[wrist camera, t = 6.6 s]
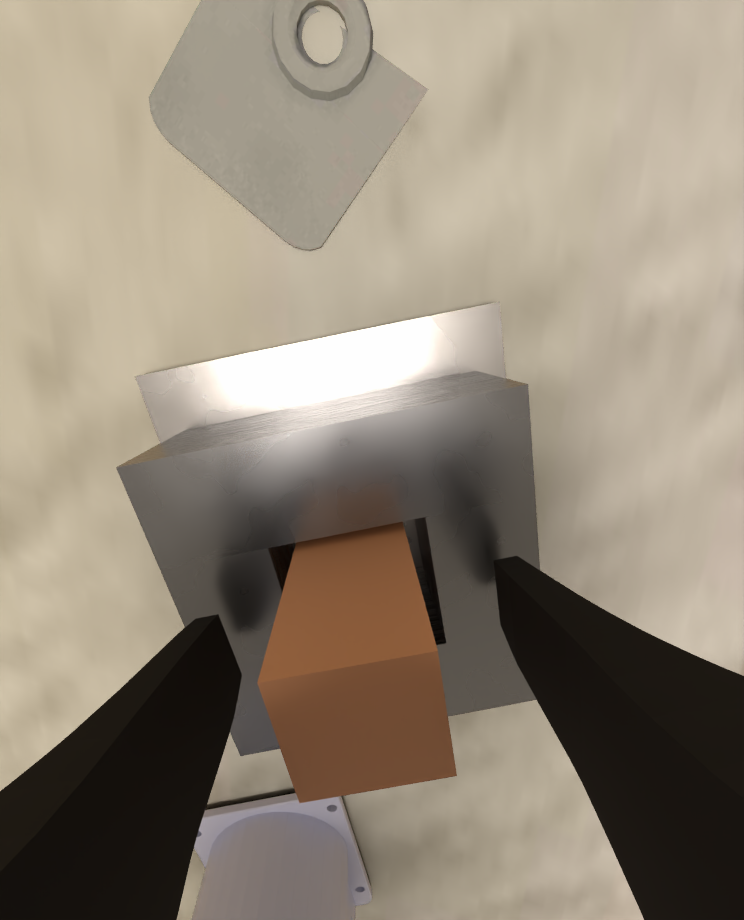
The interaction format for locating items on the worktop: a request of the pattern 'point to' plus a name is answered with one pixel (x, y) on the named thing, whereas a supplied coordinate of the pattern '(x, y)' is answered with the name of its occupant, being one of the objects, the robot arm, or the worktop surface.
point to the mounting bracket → (282, 110)
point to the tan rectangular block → (355, 669)
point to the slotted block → (345, 486)
